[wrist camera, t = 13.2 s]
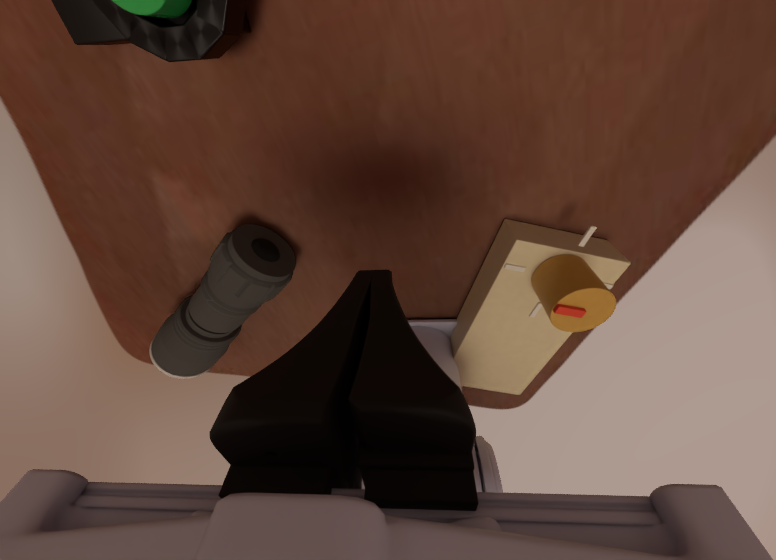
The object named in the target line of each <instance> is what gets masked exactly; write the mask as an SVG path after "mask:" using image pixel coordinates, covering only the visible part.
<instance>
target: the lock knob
mask: <svg viewBox="0 0 776 560" xmlns="http://www.w3.org/2000/svg"><path fill="white" fill-rule="evenodd" d="M531 283H532V287H533V289H534V291H535V293H536V295H537V297H538V299H539V300H540V302H541V304H542V306H543V308H544V310H545V312H546V314H547V316H548V318H549V319H550V321H551V323H552V325H553V326H554V327H556V328H557V329H559V330H562V331H565V332H581V331H586V330H589V329H592V328H594V327H596V326H598V325H600V324H602V323H603V322H605V321H606V320H607V319H608V318H609V317H610V316H611V315H612V313H613V312H614V310H615V307H616V299H615V297H614V295H613V294H612V293H611V291H610V290H609V289H608V288H607V287H606V285H605V284H604V283H603V282H602V281H601V279H600V278H599V277H598V276H597V275H596V273H595V272H594V271H593V270H592V269H591V267H590V266H589V265H588V264H587V263H586V261H585V260H584V259H582V258H581V257H579V256H576V255H570V254H565V255H559V256H555V257H552V258H550V259H548V260H546V261H545V262H543V263H542V264H541V265H540V266H539V267H538V268H537V269H536V270H535V272H534V274H533V276H532V280H531Z"/></svg>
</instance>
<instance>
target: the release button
mask: <svg viewBox="0 0 776 560" xmlns="http://www.w3.org/2000/svg"><path fill="white" fill-rule="evenodd" d="M112 1H113V2H114V3H115V4H117V5H118V6H119V7H121V8H123V9H124V10H126V11H128V12H131V13H133V14H137V15H143V16H152V17H161V18H176V17H179V16H181V15H182V14H184V13H185V12H186V11H187V9H188V8H189V6H190V4H191V2H192V0H112Z"/></svg>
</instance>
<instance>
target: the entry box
mask: <svg viewBox="0 0 776 560" xmlns="http://www.w3.org/2000/svg"><path fill="white" fill-rule="evenodd" d="M52 2H53V4H54V6H55V8H56V10H57V11H58V13H59V15H60V17H61V19H62V21H63V22H64V24H65V26H66V28H67V30H68V32H69V33H70V35H71V37H72V39H73V41H74V43H75V44H77V45H112V44H124V43H132V44H134V45H136V46H138V47H140V48H142V49H144V50H146V51H148V52H150V53H152V54H154V55H156V56H158V57H160V58H162V59H164V60H166V61H168V62H176V61H189V60H202V59H214V58H220V57H221V56H222V55H223V54H224V53H225V52H226V51H227V50H228V49H229V48H230V46H231V45H232V44H233V43H234V42H235V41H236V40H237V39H238V38H239V37H240V35H241V33H250V32H251V29H250V25H249V21H248V17H247V13H246V9H245V7H246V0H192V2H191V4H190V6H189V8H188V9H187V11H186V12H185V13H184V14H182V15H181V16H179V17H176V18H161V17H152V16H143V15H137V14H133V13H131V12H128V11H126V10H124V9H123V8H121V7H119V6H118V5H117V4H115V3H114V2H113V1H112V0H52Z"/></svg>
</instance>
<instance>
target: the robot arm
mask: <svg viewBox="0 0 776 560" xmlns="http://www.w3.org/2000/svg"><path fill="white" fill-rule="evenodd" d="M457 323H458V320H457V319H440V320H407V319H406V317H405V315H404V313H403V311H402V308H401V306H400V304H399V301H398V299H397V296H396V293H395V290H394V287H393V283H392V272H391V271H390V270H362V271H358V272H357V273H356V275H355V277H354V278H353V280H352V281H351V283H350V284H349V286H348V287H347V289H346V290H345V292H344V293H343V294H342V296H341V297H340V298H339V300H338V301H337V303H336V304H335V305H334V306H333V307H332V309H331V310H330V311H329V312H328V313H327V315H326V316H325V317H324V318H323V319H322V320H321V321H320V322H319V324H318V325H317V326H316V327H315V328H314V329H313V330H312V331H311V332H310V333H309V334H308V335H306V336H305V337H304V338H303V339H302V340H301V341H300V342H299V343H297V344H296V345H295V346H294V347H293V348H292V349H290V350H289V351H288V352H287V353H285V354H284V355H283V356H281V357H280V358H279V359H277V360H276V361H274V362H273V363H271V364H270V365H269V366H267V367H266V368H264V369H263V370H261V371H260V372H258V373H256V374H255V375H253V376H251V377H250V378H248V379H246V380H245V381H244V382H242V383H240V384H238V385H237V386H235V387H233V389H232V391H231V393H230V394H229V396H228V397H227V399H226V401H225V403H224V405H223V407H222V409H221V411H220V413H219V415H218V417H217V419H216V421H215V423H214V425H213V427H212V429H211V431H210V439H211V442H212V443H213V445H214V446H215V448H216V449H217V450H218V451H219V452H220V453H221V454H222V455H223V457H224V458H225V459H226V460H227V461H228V462H229V463H230V465H231V466H230V468H229V471H228V473H227V475H226V478H225V480H224V483H223V485H222V486H221V485H185V484H147V483H107V482H105V483H104V482H88V480H87V479H86V478H84V477H83V476H81V475H79V474H77V473H75V472H71V471H66V470H40V469H33V470H30V471H28V472H27V473H26V474H25V475H24V476H23V478H22V479H21V480H20V481H19V482H18V483H17V484H16V485H15V486H14V488H13V489H12V490H11V491H10V492H9V493H8V494H7V496H6V497H5V498H4V499H3V500H2V501H1V502H0V560H773V559H772V558H771V556H770V555H769V553H768V552H767V551H766V549H765V548H764V546H763V545H762V544H761V542H760V541H759V539H758V538H757V537H756V536H755V534H754V532H753V531H752V530H751V528H750V527H749V525H748V524H747V523H746V521H745V520H744V518H743V517H742V516H741V514H740V513H739V511H738V510H737V509H736V507H735V506H734V504H733V503H732V502H731V500H730V499H729V498H728V496H727V495H726V493H725V492H724V491H723V489H722V488H721V487H719V486H717V485H692V484H670V485H664V486H660V487H659V488H656V489H655V490H654V491H653V492H652V493H651V494H650V496H649V497H647V496H609V495H607V496H606V495H570V494H569V495H568V494H566V495H565V494H531V493H503V490H502V485H501V480H500V475H499V470H498V466H497V463H496V458H495V455H494V452H493V449H492V447H491V445H490V444H488V443H487V442H486V441H485V440H484V438H483V437H482V436H477V437H476V428H475V423H474V420H473V417H472V414H471V411H470V409H469V406H468V404H467V402H466V400H465V398H464V396H463V393H462V387H461V381H460V375H459V369H458V365H457V363H456V361H455V360H454V358H453V352H452V346H451V339H450V337H451V335H452V333H453V331H454V330H453V329H454V328H455V327H456V325H457Z"/></svg>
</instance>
